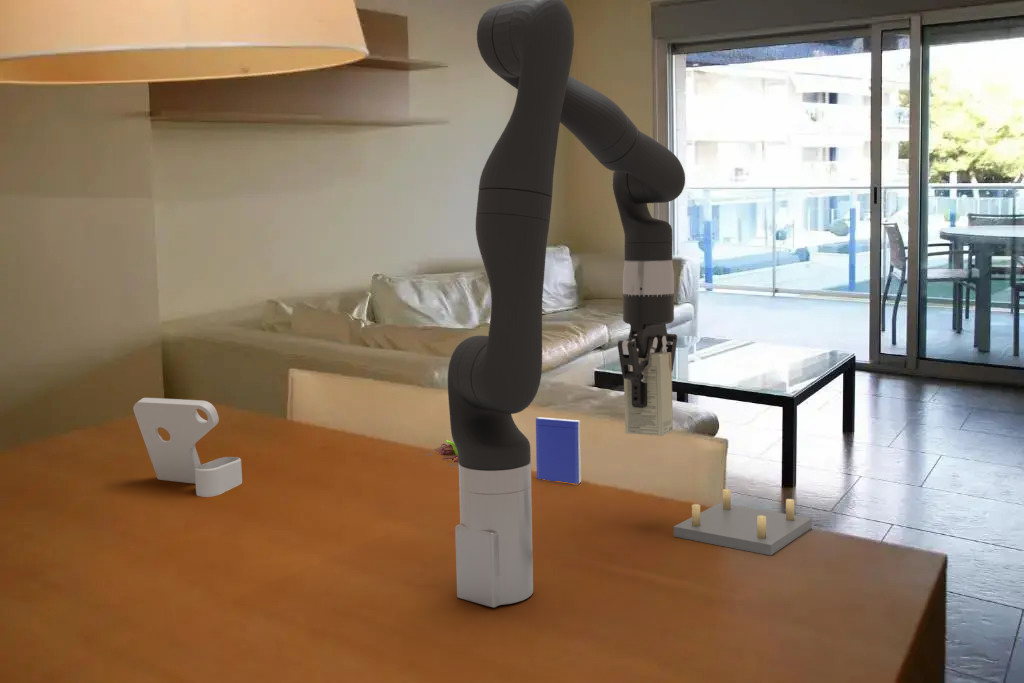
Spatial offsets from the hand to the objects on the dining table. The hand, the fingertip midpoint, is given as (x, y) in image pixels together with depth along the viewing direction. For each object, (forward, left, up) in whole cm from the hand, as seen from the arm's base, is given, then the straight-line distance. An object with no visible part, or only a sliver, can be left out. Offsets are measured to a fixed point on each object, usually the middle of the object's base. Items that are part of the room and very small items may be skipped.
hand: (648, 404), depth 146 cm
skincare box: (0, 0, -5) cm, 5 cm away
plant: (+15, +48, -19) cm, 54 cm away
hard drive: (+10, +24, -19) cm, 32 cm away
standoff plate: (+5, -13, -19) cm, 23 cm away
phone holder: (-29, +75, -19) cm, 83 cm away
